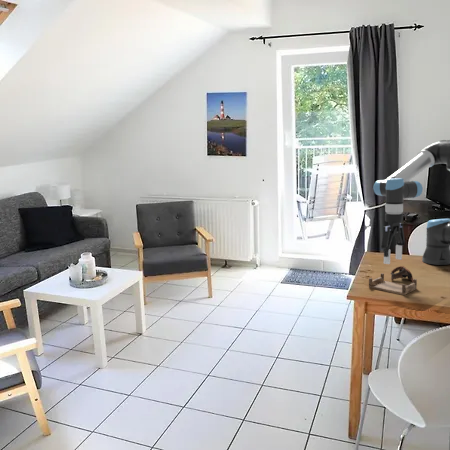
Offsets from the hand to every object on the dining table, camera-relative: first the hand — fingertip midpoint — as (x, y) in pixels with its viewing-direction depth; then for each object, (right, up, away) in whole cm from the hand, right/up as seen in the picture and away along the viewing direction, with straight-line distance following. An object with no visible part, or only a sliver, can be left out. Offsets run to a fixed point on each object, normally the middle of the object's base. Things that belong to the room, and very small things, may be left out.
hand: (392, 261), depth 221 cm
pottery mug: (+11, -11, +14) cm, 21 cm away
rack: (+1, -13, +2) cm, 13 cm away
